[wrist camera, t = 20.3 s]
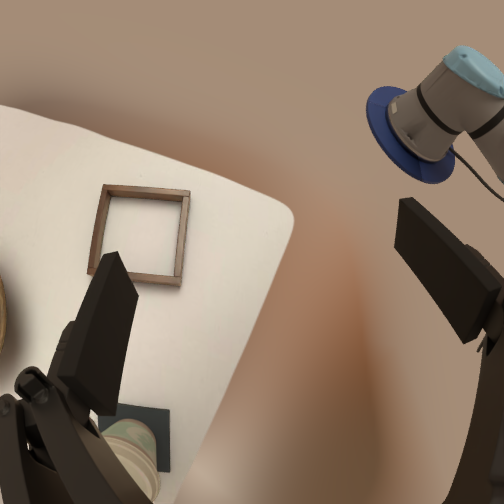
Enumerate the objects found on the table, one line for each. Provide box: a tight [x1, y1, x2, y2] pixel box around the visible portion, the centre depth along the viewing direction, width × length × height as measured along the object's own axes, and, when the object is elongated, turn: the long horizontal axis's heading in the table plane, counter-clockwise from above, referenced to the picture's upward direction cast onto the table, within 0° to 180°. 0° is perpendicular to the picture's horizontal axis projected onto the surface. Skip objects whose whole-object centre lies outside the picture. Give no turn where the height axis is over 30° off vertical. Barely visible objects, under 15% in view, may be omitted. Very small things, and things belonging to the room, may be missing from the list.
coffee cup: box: [101, 419, 160, 502], centre depth 24 cm, size 8×8×12 cm
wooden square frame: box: [87, 184, 190, 286], centre depth 35 cm, size 11×11×2 cm
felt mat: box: [98, 403, 170, 473], centre depth 30 cm, size 9×9×1 cm
